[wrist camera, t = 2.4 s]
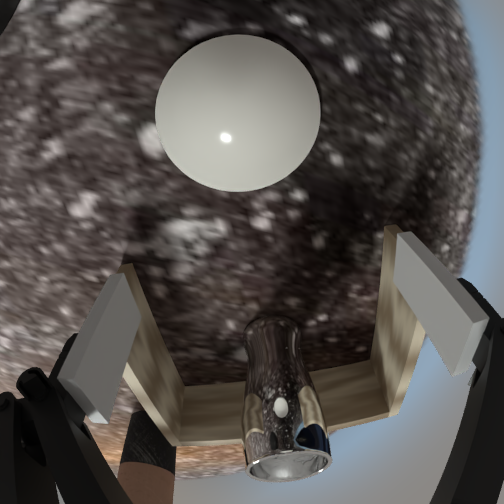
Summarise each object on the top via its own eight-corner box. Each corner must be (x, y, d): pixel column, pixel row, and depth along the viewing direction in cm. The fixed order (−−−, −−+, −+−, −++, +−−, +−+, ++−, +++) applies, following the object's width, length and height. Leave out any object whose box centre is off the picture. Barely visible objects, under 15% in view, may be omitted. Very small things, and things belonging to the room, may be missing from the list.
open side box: (120, 264, 28) (91, 322, 21) (396, 224, 27) (439, 272, 20) (178, 392, 37) (172, 446, 30) (377, 363, 37) (397, 414, 30)
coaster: (144, 54, 19) (142, 53, 19) (308, 28, 19) (309, 27, 18) (175, 200, 25) (173, 203, 25) (324, 178, 25) (326, 180, 24)
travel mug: (124, 424, 42) (104, 538, 24) (136, 403, 39) (113, 535, 21) (169, 439, 44) (160, 550, 27) (187, 420, 41) (179, 549, 23)
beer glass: (294, 360, 35) (315, 481, 22) (233, 355, 34) (235, 482, 21) (313, 315, 32) (350, 448, 19) (245, 307, 31) (253, 450, 18)
